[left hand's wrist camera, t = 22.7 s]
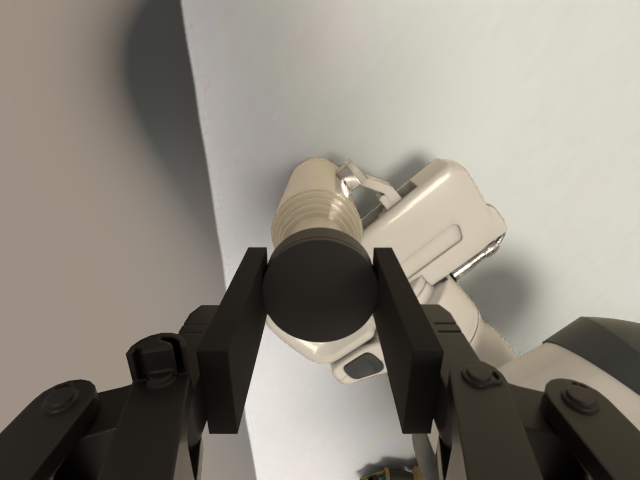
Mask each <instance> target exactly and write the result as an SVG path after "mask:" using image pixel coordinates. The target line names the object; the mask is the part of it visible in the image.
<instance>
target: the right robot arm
mask: <svg viewBox="0 0 640 480" xmlns="http://www.w3.org/2000/svg"><path fill="white" fill-rule="evenodd" d="M336 173H337V175H338V176H339V177H340V179H342V180H343V181H345V183H346V185H347V187H348V188H349V189H350V190H351V191H353V190H354V189H356V188H357V187H358V186H359V185H361V186H364V187H367V188H370V189H372V190H375V191H376V192H375V195H376V196H377V197H378V199H379V200H380V202H381V203H380V204H379V205H378V206H377V207H375V208H374V209H373V210H372V211H370V212H369V213H368V214H367V215H365V216H364V217H363V218H362V219H361V222H362V228H363V235H362V241H361V245H362V246H363V247H364V249H365V250H366V251H367V253H368V255H369V257H370V259H371V262H372V265H373V249H374V247H392V249H393V251H394V253H395V255H396V257H397V259H398V261H399V263H400V265H401V267H402V269H403V271H404V273H405V275H406V277H407V279H408V281H409V283H410V285H411V287H412V289H413V291H414V293H415V295H416V297H417V299H418V301H419V303H420V304H439V305H441V306H442V307H443V308H445V309H446V310H447V311H449V312H450V313H451V315H452V316H453V318H454V319H455V321H456V324H457V325H458V326H459V327H460V329H461V331H462V333H463V334H464V335H465V337H466V339H467V340H468V342H469V343H470V345H471V347H472V348H473V350H474V351H475V353H476V355H477V356H478V358H479V359H480V361H483V362H485V363H487V364H489V365H491V366H493V367H495V368H496V369H497V370H499V371H500V372H501V373H502V374H503V375H504V377H505V379H506V380H507V382H508V383H510V384H514V385H517V386H521V387H525V388H529V389H534V390H538V391H542V392H544V389H545V385H546V384H547V383H548V382H549V381H550V380H552V379H558V378H563V379H572V380H575V381H578V382H581V383H584V384H586V385H588V386H590V387H592V388H593V389H595V390H597V391H599V392H600V393H601V394H602V395H604V396H605V397H606V398H607V399H608V400H609V401H610V402H611V403H612V404H613V405H614V406H615V407H616V408H617V409H618V410H619V411H620V412H621V413H622V414H623V415H624V416H625V417H626V418H627V419H628V420H629V421H630V422H631V423H632V424H633V425H634V426H635V427H636V428H637V429H638V430H639V431H640V323H635V322H630V321H624V320H618V319H610V318H599V317H579V318H578V319H576V320H575V321H573V322H572V323H570V324H569V325H567V326H566V327H564V328H563V329H561V330H560V331H558V332H557V333H555V334H554V335H552V336H551V337H549V338H548V339H546V340H545V341H543V343H542V345H540V346H538V347H537V348H535V349H533V350H531V351H529V352H527V353H525V354H524V355H522V356H520V357H517V356H516V354H515V353H514V352H513V350H512V349H511V348H510V346H509V345H508V344H507V342H506V341H505V340H504V339H503V337H502V336H501V335H500V334H499V333H498V332H497V331H496V330H495V329H494V328H493V327H491V326H490V325H488V324H487V323H485V322H484V321H483V320H482V318H481V315H480V312H479V310H478V308H477V307H476V305H475V304H474V303H473V301H472V300H471V299H470V298H469V297H468V295H467V294H466V293H465V292H464V290H463V289H462V288H461V287H460V286H459V285H458V283H457V281H456V280H458V279H459V278H460V277H462V276H463V275H465V274H466V273H467V272H469V271H470V270H472V269H473V268H474V267H475V266H476V265H477V264H478V263H479V262H481V261H482V260H484V259H485V258H488V257H490V256H492V255H493V254H494V253H496V252H497V251H498V250H499V248H500V246H499V244H500V243H501V241H502V240H503V238H504V236H505V234H506V230H507V226H506V223H505V221H504V219H503V218H502V216H501V215H500V214H499V212H498V211H497V210H496V208H495V207H494V206H492V205H490V204H488V203H485V201H484V199H483V197H482V195H481V193H480V191H479V189H478V187H477V186H476V184H475V182H474V181H473V179H472V177H471V176H470V174H469V173H468V171H467V170H466V169H465V168H464V167H463V166H462V165H461V164H459V163H457V162H455V161H452V160H446V159H435V160H433V161H432V162H431V163H429V164H428V165H427V166H426V167H424V168H423V169H422V170H421V171H420V172H418V173H417V174H416V175H415V176H413V177H412V178H411V179H410V180H408V181H407V182H406V183H405V184H404V185H402V186H401V187H400V188H399V189H397V190H396V191H395V189H394V188H393V187H392V186H391V185H390V184H389V183H388V182H387V181H384V180H381V179H378V178H375V177H372V176H369V175H367V174H365V175H363V173H362V172H361V171H360V170H359V169H358V167H357V166H356V165H355V164H354V163H353V161H352V160H351V159H349V160H348V161H347V162H345V163H344V164H343V165H342V166H341V167H340V168H339V169H338V170H337V171H336ZM496 238H497V239H496ZM495 239H496V240H495ZM266 324H267V326H268V327H269V328H270V329H271V330H272V331H273V332H274V333H275V334H276V335H277V336H278V337H279V338H281V339H282V340H283V341H284V342H285V343H287V344H288V345H289V346H290V347H292V348H293V349H294V350H296V351H297V352H298V353H300V354H301V355H303V356H304V357H306V358H307V359H309V360H311V361H313V362H316V363H321V364H328V363H330V364H331V369H332V373H333V375H334V377H335V378H336V379H337V380H338V381H339V382H341V383H343V384H350V383H354V382H357V381H360V380H363V379H366V378H369V377H372V376H375V375H379V374H382V373H386V372H387V369H386V365H385V361H384V357H383V353H382V349H381V345H380V341H379V337H378V333H377V329H376V325H375V321H374V317H373V314H372V316H371V317H370V319H369V320H368V321H367V322H366V324H365V325H364V326H363V327H362V328H360V329H359V330H358V331H356V332H355V333H353V334H352V335H350V336H348V337H345V338H343V339H340V340H337V341H332V342H323V343H318V342H308V341H304V340H300V339H297V338H295V337H293V336H291V335H289V334H287V333H285V332H284V331H282V330H281V329H280V328H279V327H278V326H276V324H275V323H274V322H273V321H272V320H271V318H270V317H269V315H268V314H267V318H266ZM438 436H439V433H438V430H437V427H436V424H435V421H434V419H433V423H432V430H431V434H412V439H413V446H414V451H415V455H416V458H417V462H418V465H419V468H420V470H421V473H422V475H423V477H424V479H425V480H439V469H438V470H436V469H433V466H434V459H435V454H436V448H437V442H438Z"/></svg>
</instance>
